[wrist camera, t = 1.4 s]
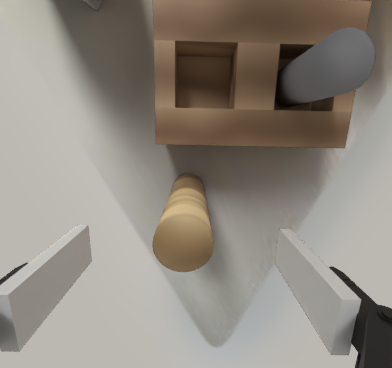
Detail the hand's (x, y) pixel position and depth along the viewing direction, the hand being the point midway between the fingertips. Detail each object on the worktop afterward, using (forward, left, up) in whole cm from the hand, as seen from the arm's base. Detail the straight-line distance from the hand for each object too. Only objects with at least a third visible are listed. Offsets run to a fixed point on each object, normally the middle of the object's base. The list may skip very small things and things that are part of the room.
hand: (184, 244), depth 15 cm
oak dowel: (0, 0, -13) cm, 13 cm away
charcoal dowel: (-12, +10, -11) cm, 20 cm away
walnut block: (-12, +6, -13) cm, 19 cm away
